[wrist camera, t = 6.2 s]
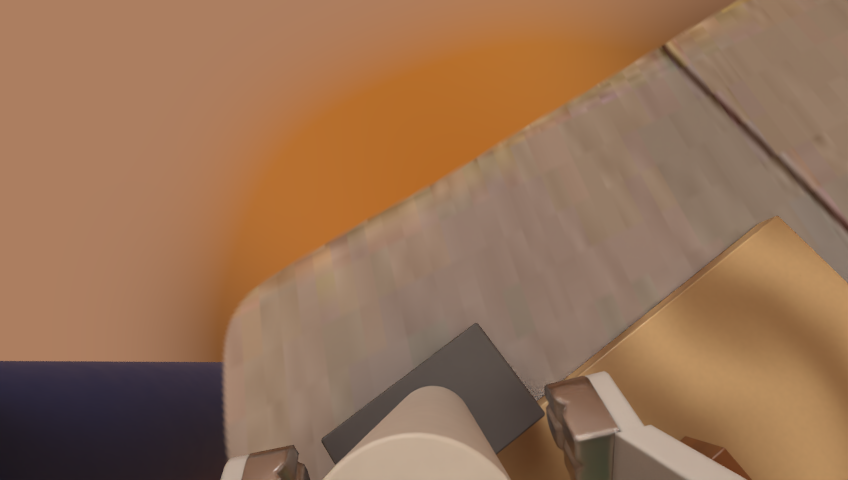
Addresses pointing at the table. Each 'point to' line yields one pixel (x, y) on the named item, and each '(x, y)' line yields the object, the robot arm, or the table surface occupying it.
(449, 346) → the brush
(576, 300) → the table surface
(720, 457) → the brown rectangular block
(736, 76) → the table surface
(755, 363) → the board
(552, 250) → the table surface
